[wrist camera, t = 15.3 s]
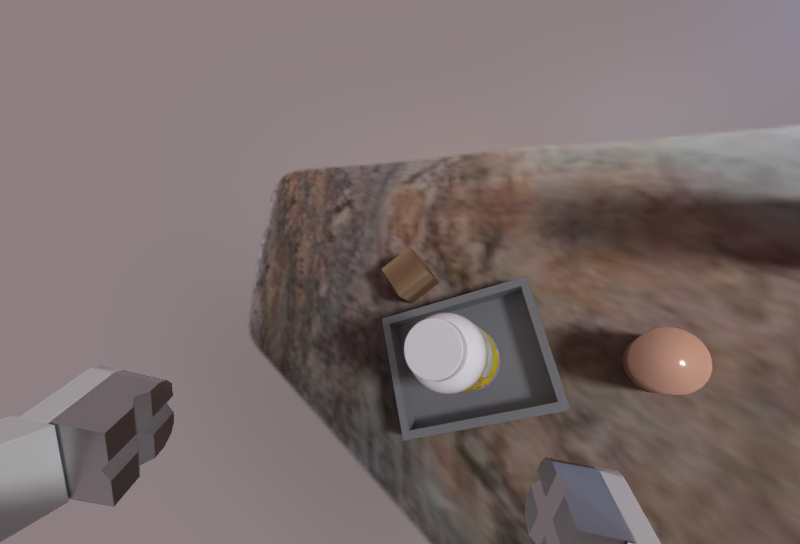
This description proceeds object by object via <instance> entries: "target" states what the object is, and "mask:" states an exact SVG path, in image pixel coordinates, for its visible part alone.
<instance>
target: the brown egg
mask: <svg viewBox="0 0 800 544" xmlns="http://www.w3.org/2000/svg"><path fill="white" fill-rule="evenodd" d="M622 365H623V369H624V371H625V374H626V375H627V377H628V378H629V379H630V381H632V382H633V383H634V384H635V385H636V386H638V387H639V388H641V389H643V390H645V391H648V392H652V393H661V394H673V395H683V394H689V393H692V392H695V391H697V390H698V389H700V388H701V387H703V386H704V385H705V384H706V383H707V381H708V380H709V378H710V375H711V372H712V360H711V356H710V353H709V351H708V350H707V348H706V346H705V345H704V344H703V343H702V342H701V341H700V340H699V339H698V338H697V337H696V336H694V335H693V334H691V333H689V332H687V331H684V330H682V329H678V328H673V327H660V328H656V329H652V330H650V331H648V332H646V333H645V334H643V335H641V336H640V337H638V338H637V339H635V340H633V341H632V342H631V343H630V344H629V345H628V346H627V347H626V348H625V350H624V352H623V356H622Z"/></svg>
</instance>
